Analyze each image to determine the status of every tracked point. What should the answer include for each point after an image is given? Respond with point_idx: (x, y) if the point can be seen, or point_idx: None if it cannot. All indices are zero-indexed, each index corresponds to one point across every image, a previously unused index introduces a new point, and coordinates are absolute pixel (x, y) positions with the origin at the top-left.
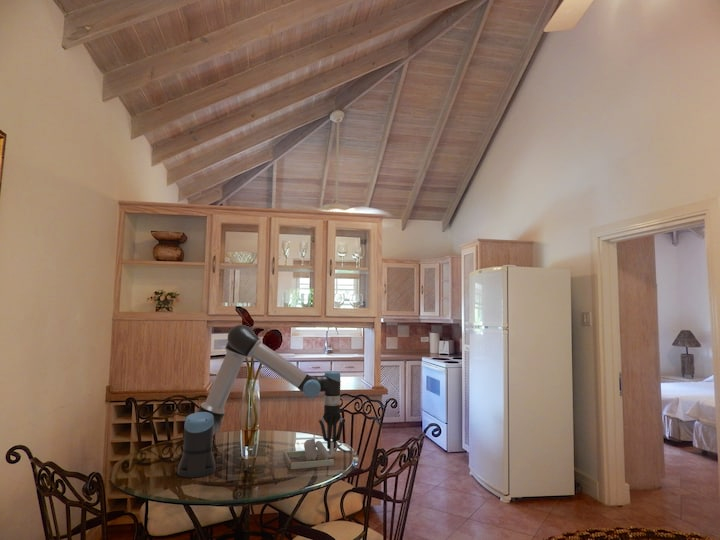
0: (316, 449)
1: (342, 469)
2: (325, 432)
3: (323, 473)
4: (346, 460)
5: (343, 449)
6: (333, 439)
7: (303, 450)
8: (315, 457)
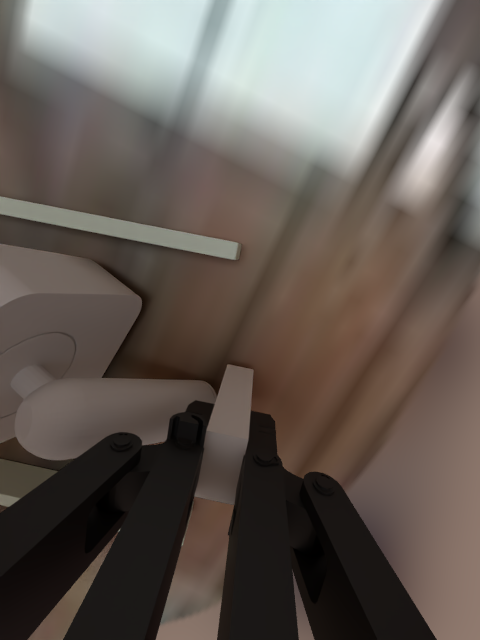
0: (149, 228)
1: (210, 588)
2: (30, 631)
3: (83, 588)
4: (321, 464)
5: (477, 179)
6: (231, 523)
7: (19, 202)
8: (102, 368)
